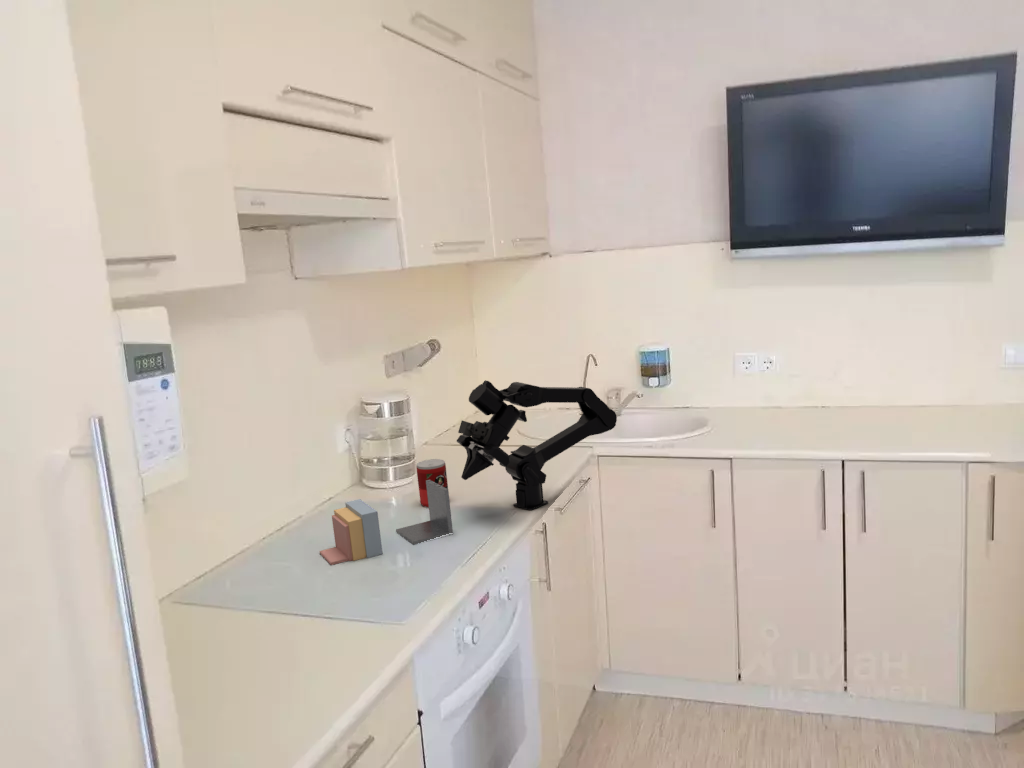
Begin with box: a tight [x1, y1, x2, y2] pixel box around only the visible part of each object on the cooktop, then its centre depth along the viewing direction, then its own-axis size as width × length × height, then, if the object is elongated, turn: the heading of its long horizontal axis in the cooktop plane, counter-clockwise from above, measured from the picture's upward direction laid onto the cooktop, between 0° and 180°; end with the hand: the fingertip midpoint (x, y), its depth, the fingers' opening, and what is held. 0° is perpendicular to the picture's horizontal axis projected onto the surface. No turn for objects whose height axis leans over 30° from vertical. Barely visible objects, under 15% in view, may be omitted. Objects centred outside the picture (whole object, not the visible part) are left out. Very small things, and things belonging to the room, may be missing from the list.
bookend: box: [395, 480, 454, 546], centre depth 195 cm, size 10×11×11 cm
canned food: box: [415, 458, 449, 508], centre depth 218 cm, size 8×8×11 cm
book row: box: [319, 498, 384, 566], centre depth 187 cm, size 11×12×10 cm
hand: (463, 478), depth 200 cm, fingers closed
